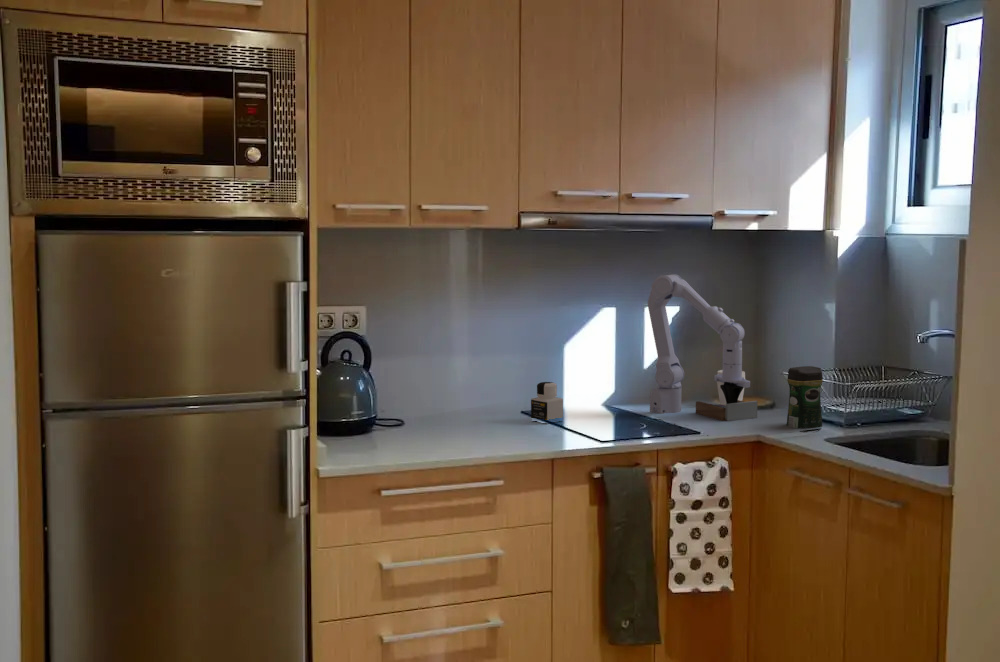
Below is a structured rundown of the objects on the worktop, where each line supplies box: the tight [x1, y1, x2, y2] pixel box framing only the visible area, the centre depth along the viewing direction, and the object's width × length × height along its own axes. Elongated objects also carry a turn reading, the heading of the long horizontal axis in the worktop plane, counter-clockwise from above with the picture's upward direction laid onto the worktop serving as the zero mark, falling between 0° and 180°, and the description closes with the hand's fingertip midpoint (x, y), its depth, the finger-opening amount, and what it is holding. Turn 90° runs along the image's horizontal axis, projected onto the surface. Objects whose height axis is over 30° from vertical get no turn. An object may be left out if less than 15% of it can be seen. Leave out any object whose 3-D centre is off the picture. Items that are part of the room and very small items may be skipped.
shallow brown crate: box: [695, 400, 745, 422], centre depth 301 cm, size 13×13×5 cm
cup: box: [716, 369, 746, 407], centre depth 319 cm, size 9×9×12 cm
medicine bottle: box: [530, 381, 564, 420], centre depth 300 cm, size 7×7×12 cm
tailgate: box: [724, 400, 758, 422], centre depth 294 cm, size 11×1×5 cm, turn 115°
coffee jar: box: [786, 365, 824, 433], centre depth 284 cm, size 10×8×19 cm
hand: (731, 407), depth 299 cm, fingers closed
